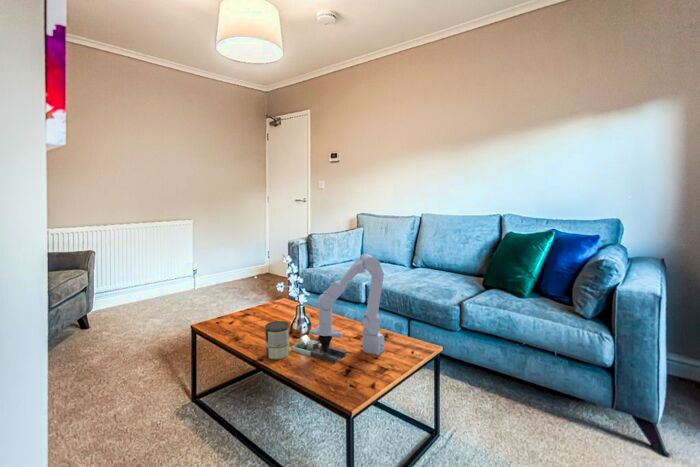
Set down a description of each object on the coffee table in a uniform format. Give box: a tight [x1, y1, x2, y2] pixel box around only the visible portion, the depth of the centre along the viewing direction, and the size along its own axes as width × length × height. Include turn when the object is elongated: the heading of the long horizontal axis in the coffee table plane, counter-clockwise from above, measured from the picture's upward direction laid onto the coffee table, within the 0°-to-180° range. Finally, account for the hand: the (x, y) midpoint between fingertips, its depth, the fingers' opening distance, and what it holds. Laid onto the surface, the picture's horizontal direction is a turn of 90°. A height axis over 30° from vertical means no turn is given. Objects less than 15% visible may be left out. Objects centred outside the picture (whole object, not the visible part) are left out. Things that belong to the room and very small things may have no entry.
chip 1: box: [296, 334, 311, 350], centre depth 169 cm, size 4×4×4 cm
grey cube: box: [305, 339, 320, 352], centre depth 167 cm, size 4×4×4 cm
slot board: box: [310, 345, 347, 364], centre depth 161 cm, size 13×9×3 cm
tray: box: [291, 343, 321, 357], centre depth 168 cm, size 11×9×2 cm
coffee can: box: [264, 320, 290, 360], centre depth 162 cm, size 10×10×14 cm
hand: (325, 351), depth 162 cm, fingers closed
